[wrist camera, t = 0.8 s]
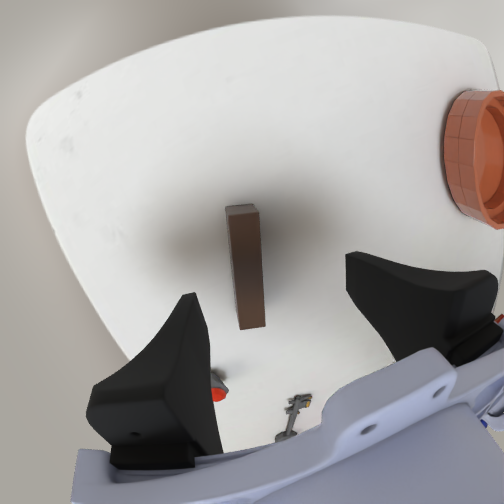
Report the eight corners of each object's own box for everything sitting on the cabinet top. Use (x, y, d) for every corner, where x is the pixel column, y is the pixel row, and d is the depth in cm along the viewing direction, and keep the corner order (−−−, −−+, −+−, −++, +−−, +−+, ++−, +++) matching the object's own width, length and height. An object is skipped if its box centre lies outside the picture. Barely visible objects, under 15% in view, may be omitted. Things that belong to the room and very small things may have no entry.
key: (296, 445, 33) (274, 449, 32) (295, 440, 33) (273, 444, 33) (314, 397, 28) (286, 402, 28) (311, 391, 29) (284, 395, 29)
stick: (260, 309, 23) (265, 326, 21) (236, 312, 23) (239, 330, 21) (253, 203, 20) (259, 211, 18) (225, 206, 20) (227, 215, 17)
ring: (211, 387, 26) (212, 409, 24) (196, 373, 25) (196, 396, 23) (231, 377, 26) (234, 400, 23) (217, 363, 25) (219, 386, 22)
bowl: (500, 214, 24) (525, 225, 20) (435, 219, 23) (466, 234, 19) (503, 106, 19) (530, 109, 15) (435, 76, 17) (469, 72, 13)
